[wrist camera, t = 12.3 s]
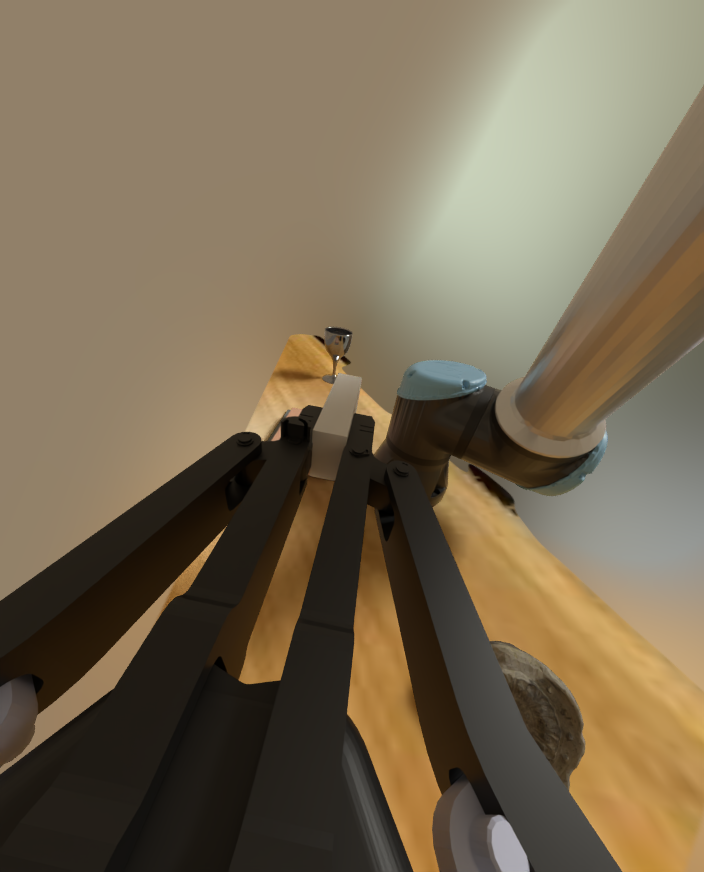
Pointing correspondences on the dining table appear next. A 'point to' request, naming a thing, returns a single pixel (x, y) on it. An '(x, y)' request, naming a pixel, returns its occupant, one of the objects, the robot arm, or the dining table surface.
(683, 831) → the dining table surface
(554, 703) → the fossil
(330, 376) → the wine glass
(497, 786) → the robot arm
